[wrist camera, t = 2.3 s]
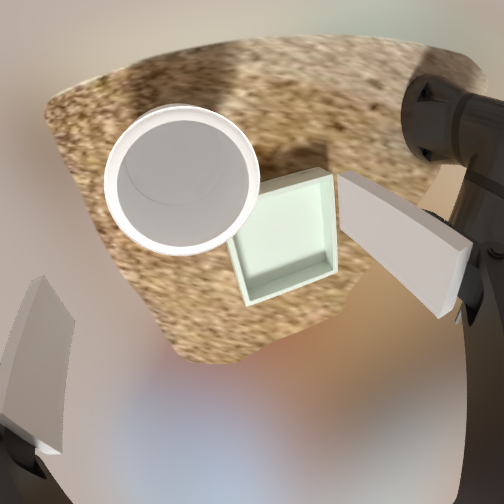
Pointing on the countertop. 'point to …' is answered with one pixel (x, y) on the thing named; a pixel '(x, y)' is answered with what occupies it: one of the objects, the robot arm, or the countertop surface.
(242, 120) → the countertop surface
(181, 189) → the jar
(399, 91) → the countertop surface
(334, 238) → the tray
